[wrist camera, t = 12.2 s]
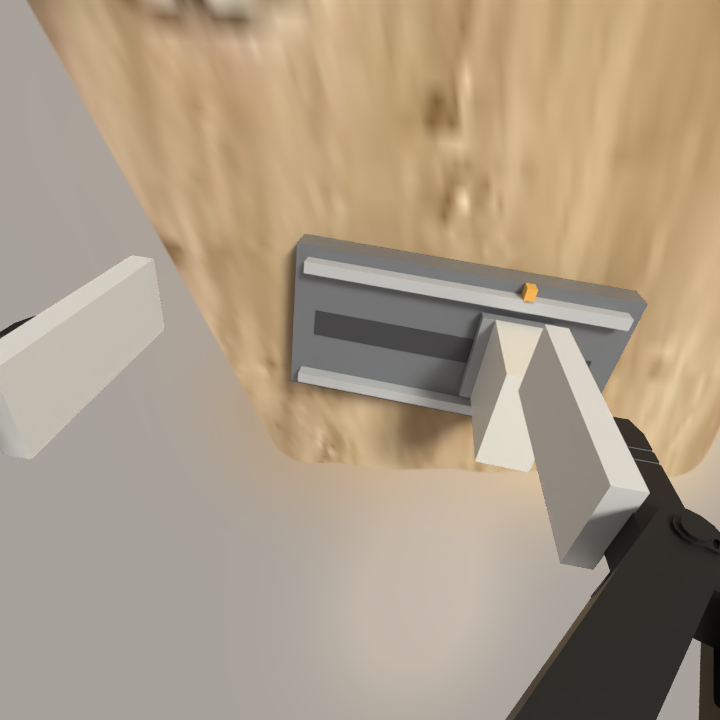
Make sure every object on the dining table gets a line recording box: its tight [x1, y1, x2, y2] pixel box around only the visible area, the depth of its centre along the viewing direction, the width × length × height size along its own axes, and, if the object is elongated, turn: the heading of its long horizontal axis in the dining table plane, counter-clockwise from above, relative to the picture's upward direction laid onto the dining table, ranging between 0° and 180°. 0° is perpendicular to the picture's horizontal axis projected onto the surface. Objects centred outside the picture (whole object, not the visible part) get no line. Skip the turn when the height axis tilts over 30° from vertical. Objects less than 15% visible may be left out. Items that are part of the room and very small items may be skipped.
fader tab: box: [459, 312, 556, 472], centre depth 35 cm, size 6×8×9 cm
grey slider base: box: [291, 234, 647, 416], centre depth 40 cm, size 28×14×4 cm, turn 83°
